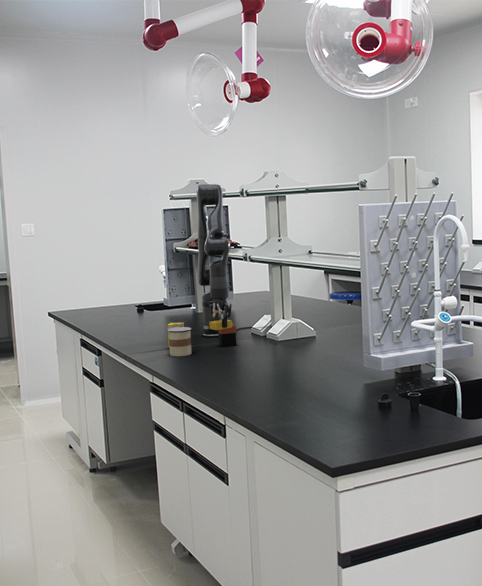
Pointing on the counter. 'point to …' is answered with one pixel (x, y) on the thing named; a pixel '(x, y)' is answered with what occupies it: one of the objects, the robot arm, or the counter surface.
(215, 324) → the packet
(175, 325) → the supplement box
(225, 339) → the battery
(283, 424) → the counter surface
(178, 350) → the striped brown canister
